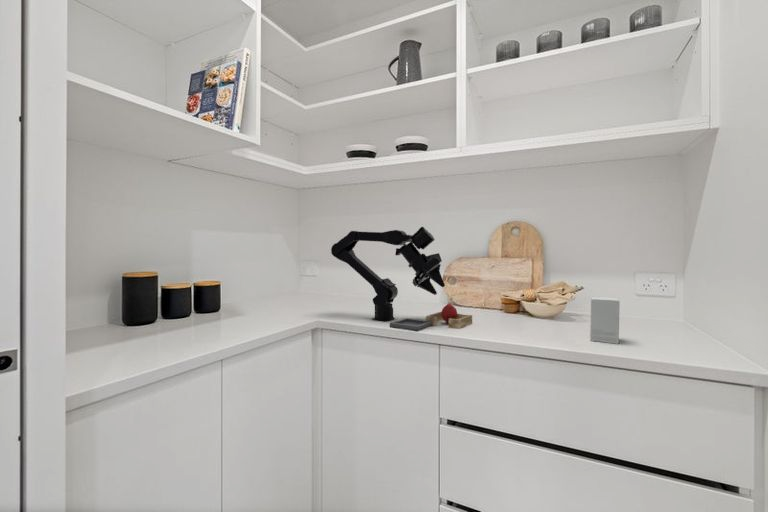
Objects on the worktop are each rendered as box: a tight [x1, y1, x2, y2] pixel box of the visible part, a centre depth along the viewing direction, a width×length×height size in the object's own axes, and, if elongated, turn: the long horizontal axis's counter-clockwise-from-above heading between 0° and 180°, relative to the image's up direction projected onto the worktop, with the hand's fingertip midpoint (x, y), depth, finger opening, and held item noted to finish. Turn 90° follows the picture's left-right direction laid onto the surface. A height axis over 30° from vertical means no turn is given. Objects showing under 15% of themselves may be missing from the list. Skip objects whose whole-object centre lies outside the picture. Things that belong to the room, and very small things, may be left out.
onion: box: [440, 301, 458, 325], centre depth 134 cm, size 6×6×8 cm
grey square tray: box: [389, 317, 434, 332], centre depth 129 cm, size 11×11×2 cm
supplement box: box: [589, 296, 620, 345], centre depth 110 cm, size 7×7×13 cm
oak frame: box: [425, 311, 473, 330], centre depth 134 cm, size 13×12×3 cm
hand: (439, 290), depth 133 cm, fingers open, 9 cm apart
